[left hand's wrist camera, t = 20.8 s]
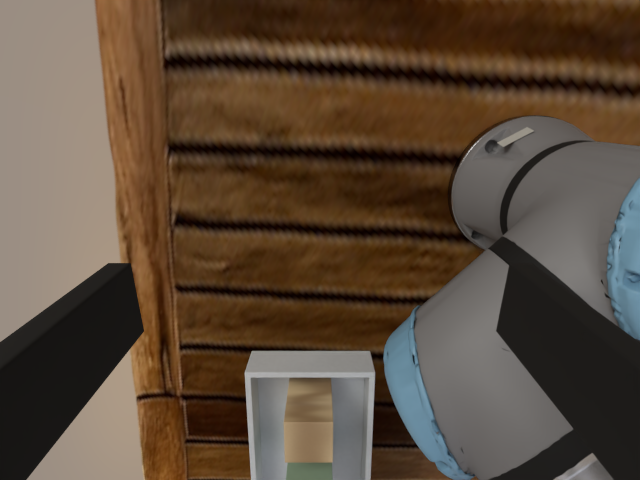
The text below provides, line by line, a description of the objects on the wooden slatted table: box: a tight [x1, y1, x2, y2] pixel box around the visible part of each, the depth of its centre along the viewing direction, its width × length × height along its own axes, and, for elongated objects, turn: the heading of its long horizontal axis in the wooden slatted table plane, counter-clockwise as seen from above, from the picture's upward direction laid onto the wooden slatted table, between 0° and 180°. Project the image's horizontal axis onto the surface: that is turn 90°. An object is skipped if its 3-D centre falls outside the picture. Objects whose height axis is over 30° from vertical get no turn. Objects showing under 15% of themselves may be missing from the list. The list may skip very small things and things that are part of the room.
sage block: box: [286, 463, 333, 480], centre depth 38 cm, size 4×4×8 cm
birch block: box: [284, 378, 333, 463], centre depth 37 cm, size 4×4×8 cm
